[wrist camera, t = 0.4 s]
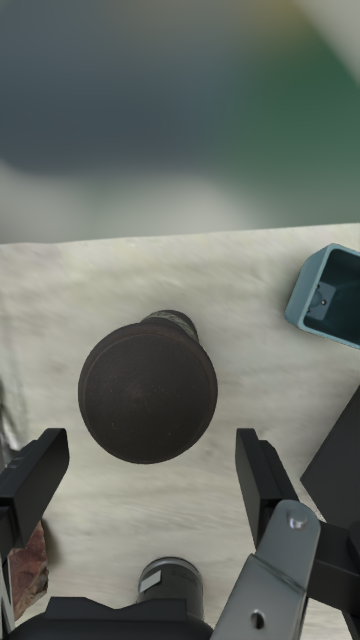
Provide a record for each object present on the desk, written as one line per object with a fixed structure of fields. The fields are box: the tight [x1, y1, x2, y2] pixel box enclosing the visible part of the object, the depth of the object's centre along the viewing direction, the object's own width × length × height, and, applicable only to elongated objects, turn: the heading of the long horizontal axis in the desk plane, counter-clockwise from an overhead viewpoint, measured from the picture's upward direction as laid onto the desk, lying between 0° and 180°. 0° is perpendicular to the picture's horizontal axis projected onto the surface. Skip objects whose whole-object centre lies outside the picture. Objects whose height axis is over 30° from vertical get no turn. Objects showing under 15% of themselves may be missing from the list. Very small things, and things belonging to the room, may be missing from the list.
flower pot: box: [284, 243, 360, 350], centre depth 29 cm, size 9×9×9 cm
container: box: [78, 310, 218, 464], centre depth 25 cm, size 9×9×20 cm
